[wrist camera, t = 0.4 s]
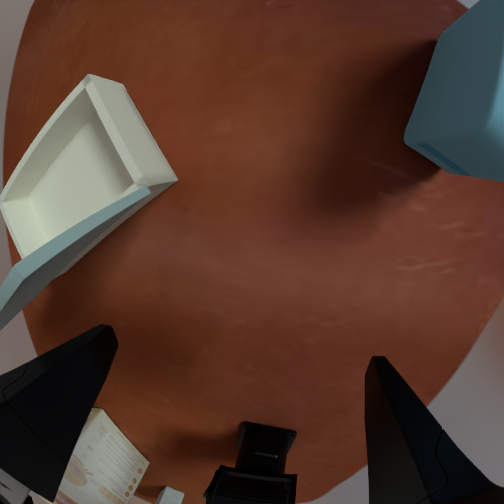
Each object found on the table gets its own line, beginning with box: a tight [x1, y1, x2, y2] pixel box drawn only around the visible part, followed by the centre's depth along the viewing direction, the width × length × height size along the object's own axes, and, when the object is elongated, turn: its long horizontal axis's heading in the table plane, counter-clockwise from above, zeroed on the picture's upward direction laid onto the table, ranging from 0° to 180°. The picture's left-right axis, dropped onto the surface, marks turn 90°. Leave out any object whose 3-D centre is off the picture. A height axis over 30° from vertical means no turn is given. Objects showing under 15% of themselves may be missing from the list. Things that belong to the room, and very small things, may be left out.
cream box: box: [0, 74, 178, 278], centre depth 22 cm, size 11×18×5 cm, turn 121°
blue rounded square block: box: [404, 0, 504, 182], centre depth 11 cm, size 12×4×12 cm, turn 157°
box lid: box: [0, 186, 151, 331], centre depth 15 cm, size 11×18×1 cm
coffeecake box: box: [39, 408, 150, 504], centre depth 29 cm, size 15×7×20 cm, turn 20°
